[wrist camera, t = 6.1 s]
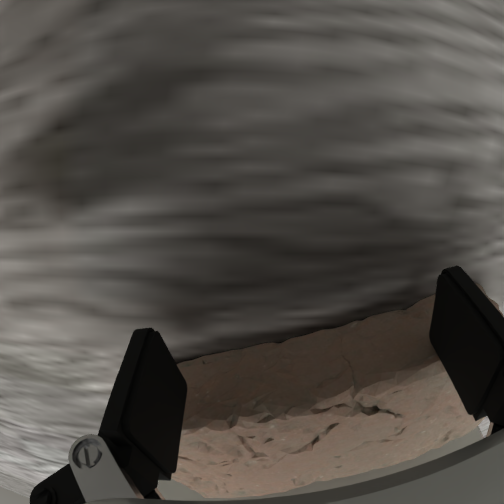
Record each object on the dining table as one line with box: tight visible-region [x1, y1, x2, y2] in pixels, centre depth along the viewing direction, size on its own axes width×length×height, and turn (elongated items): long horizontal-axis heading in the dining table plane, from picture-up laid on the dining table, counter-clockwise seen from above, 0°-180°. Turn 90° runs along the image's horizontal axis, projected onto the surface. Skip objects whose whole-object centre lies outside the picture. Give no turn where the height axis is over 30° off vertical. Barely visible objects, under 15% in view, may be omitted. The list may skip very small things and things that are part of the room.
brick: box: [171, 283, 503, 498], centre depth 13 cm, size 16×8×5 cm, turn 106°
